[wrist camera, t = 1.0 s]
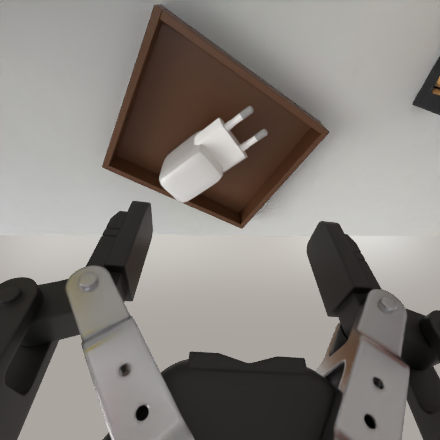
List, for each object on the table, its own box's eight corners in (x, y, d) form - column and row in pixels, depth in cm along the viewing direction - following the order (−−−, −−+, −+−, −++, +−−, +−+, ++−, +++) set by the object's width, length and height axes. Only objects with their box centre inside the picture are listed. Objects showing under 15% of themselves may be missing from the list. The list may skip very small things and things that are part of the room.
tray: (109, 155, 28) (101, 167, 26) (160, 4, 20) (154, 4, 17) (240, 215, 35) (242, 229, 32) (320, 122, 26) (329, 132, 24)
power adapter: (242, 86, 23) (249, 105, 19) (266, 126, 26) (278, 151, 22) (159, 152, 28) (150, 180, 23) (188, 181, 30) (184, 211, 26)
